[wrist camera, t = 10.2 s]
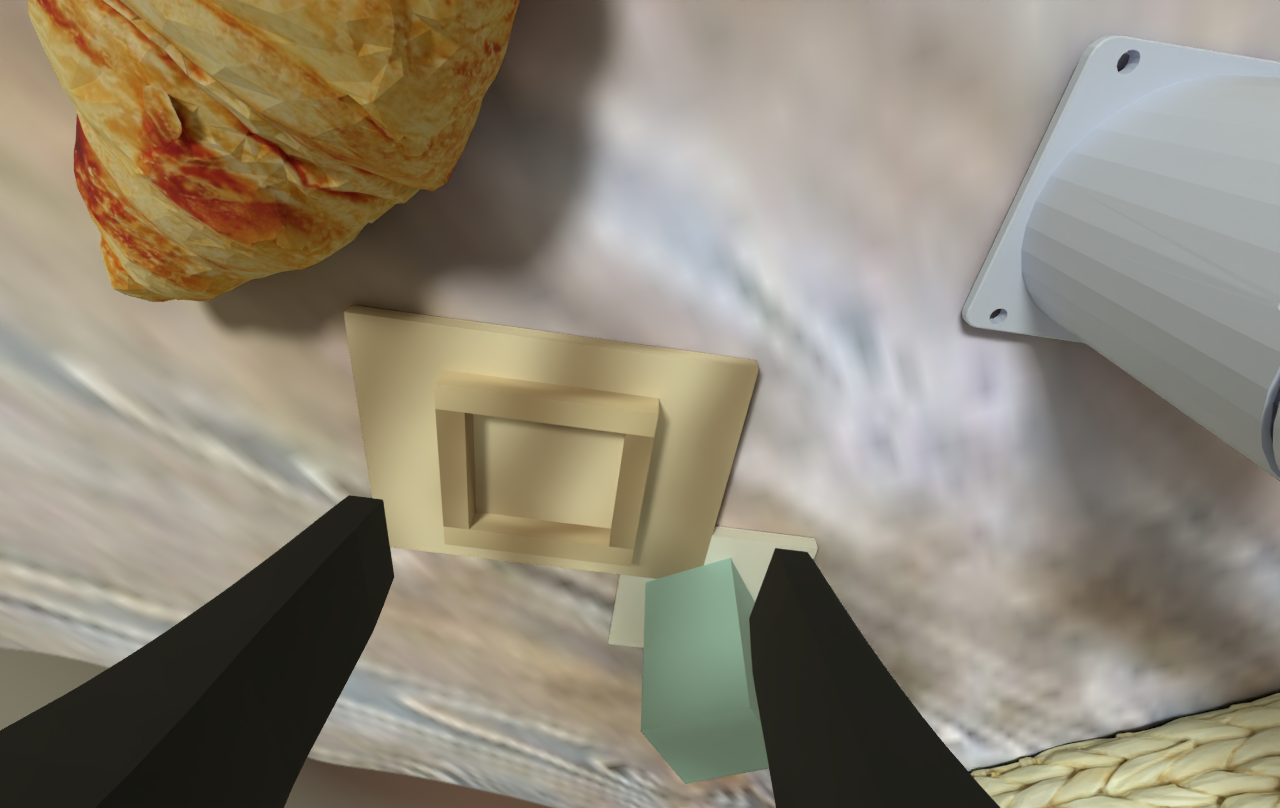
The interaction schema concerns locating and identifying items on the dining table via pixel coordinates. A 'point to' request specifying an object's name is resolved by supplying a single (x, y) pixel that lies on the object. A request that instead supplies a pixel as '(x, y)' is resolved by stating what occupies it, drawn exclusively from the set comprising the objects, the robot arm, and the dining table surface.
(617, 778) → the dining table surface
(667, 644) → the block
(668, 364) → the pocket board
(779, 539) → the coaster
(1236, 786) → the storage basket
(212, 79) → the croissant
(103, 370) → the dining table surface
